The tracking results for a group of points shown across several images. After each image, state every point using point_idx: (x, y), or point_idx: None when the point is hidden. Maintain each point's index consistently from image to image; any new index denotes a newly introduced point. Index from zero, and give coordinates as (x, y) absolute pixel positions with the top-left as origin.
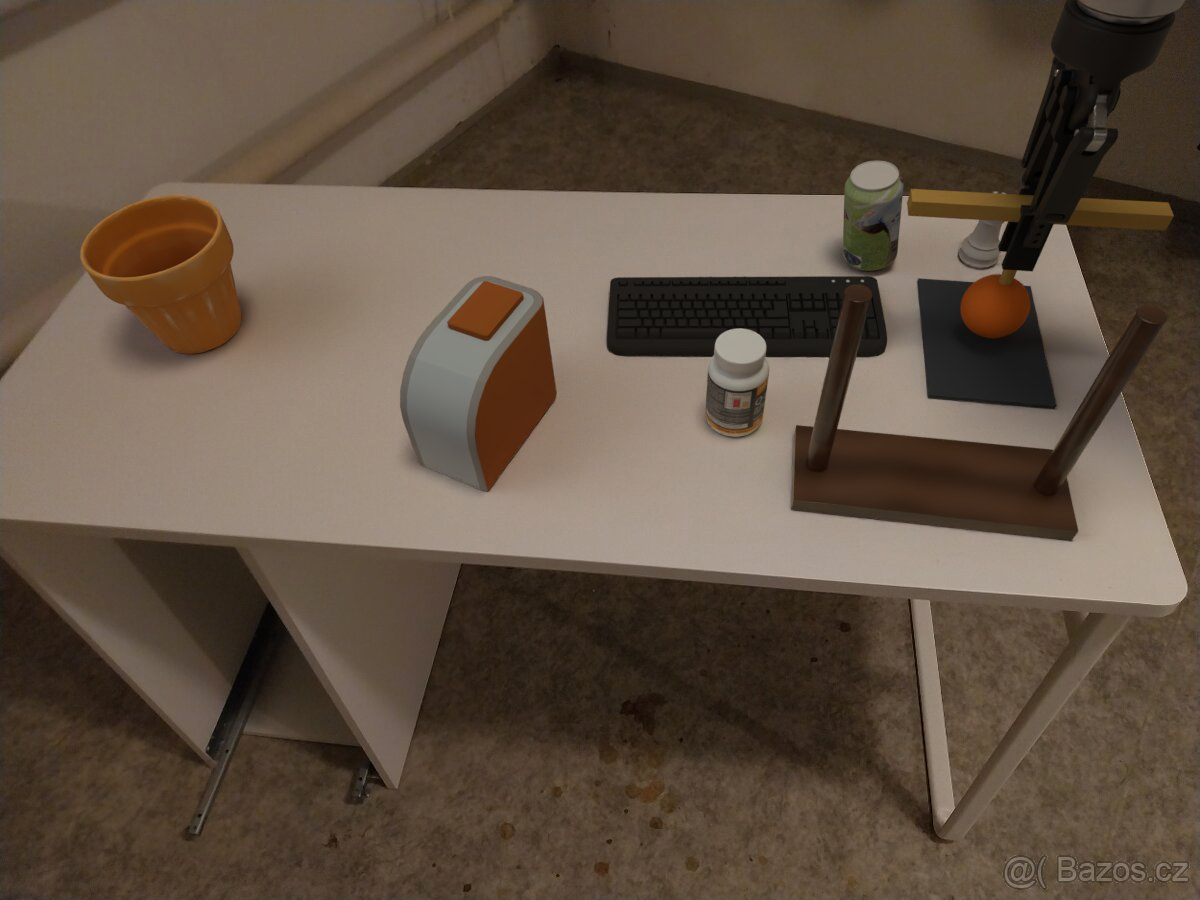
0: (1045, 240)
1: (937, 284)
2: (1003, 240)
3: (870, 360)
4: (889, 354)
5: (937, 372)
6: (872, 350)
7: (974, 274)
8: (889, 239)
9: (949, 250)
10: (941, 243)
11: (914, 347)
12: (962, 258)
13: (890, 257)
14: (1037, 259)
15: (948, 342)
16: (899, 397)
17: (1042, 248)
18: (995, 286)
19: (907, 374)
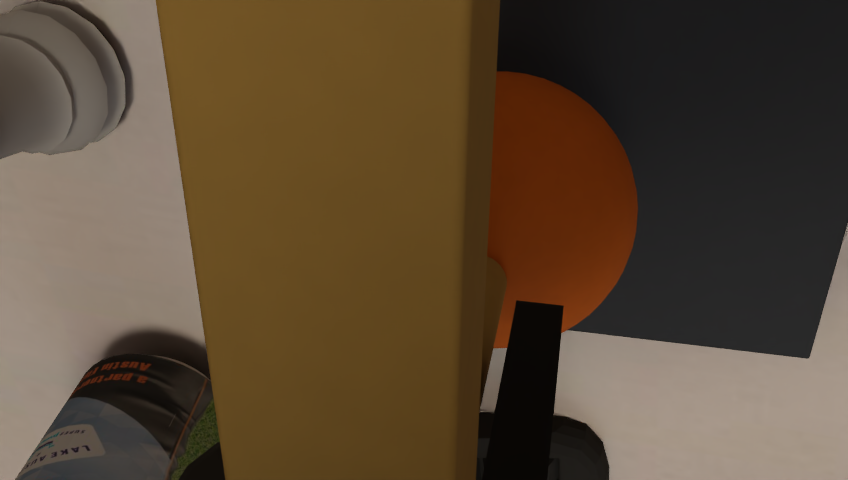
0: (547, 465)
1: None
2: None
3: (622, 461)
4: (595, 412)
5: (701, 317)
6: (601, 473)
7: (160, 96)
8: (170, 473)
9: (56, 157)
10: (28, 176)
11: (560, 343)
12: (98, 136)
13: (195, 399)
14: (555, 357)
15: None
16: (792, 420)
17: (551, 414)
18: (505, 316)
19: (688, 382)
